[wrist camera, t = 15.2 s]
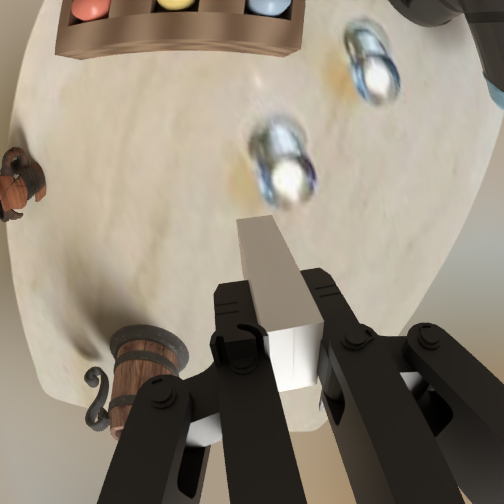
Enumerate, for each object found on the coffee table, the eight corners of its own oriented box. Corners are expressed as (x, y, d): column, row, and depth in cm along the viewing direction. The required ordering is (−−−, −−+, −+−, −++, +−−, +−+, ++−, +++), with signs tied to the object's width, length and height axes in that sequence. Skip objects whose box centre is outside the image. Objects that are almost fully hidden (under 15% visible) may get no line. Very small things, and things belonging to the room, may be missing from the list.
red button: (119, -7, 22) (109, -18, 18) (115, 22, 24) (103, 14, 20) (88, -1, 21) (74, -10, 17) (83, 28, 23) (68, 21, 20)
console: (290, -15, 27) (308, -35, 20) (283, 57, 33) (301, 49, 26) (91, -12, 23) (69, -29, 16) (80, 59, 29) (54, 54, 22)
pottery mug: (51, 211, 39) (13, 237, 33) (25, 189, 40) (-10, 211, 34) (47, 144, 31) (-1, 167, 25) (20, 128, 32) (-22, 148, 26)
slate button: (282, -5, 25) (292, -16, 21) (280, 24, 27) (289, 15, 24) (247, -10, 25) (252, -23, 21) (243, 19, 27) (248, 9, 23)
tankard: (170, 316, 52) (163, 411, 35) (200, 371, 60) (204, 453, 43) (71, 336, 51) (44, 415, 34) (110, 384, 60) (98, 456, 43)
